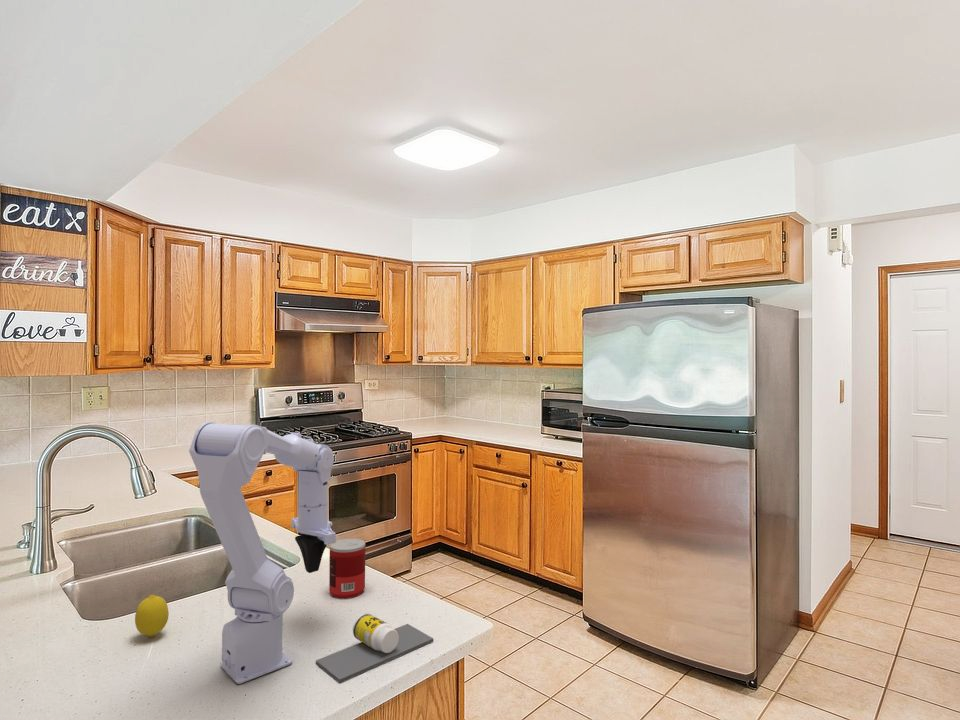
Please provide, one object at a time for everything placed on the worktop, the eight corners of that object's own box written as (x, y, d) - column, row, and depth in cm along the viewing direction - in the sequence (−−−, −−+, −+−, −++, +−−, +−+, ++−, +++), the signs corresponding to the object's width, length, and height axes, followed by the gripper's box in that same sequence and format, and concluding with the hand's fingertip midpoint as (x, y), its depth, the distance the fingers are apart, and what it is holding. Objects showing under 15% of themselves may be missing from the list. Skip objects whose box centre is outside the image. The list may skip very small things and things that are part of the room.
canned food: (372, 589, 132) (372, 542, 132) (346, 602, 126) (347, 552, 126) (347, 582, 137) (348, 535, 136) (321, 593, 130) (322, 545, 130)
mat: (339, 683, 95) (339, 679, 95) (315, 663, 101) (315, 660, 101) (433, 641, 109) (433, 638, 109) (407, 626, 115) (407, 623, 115)
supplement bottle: (373, 609, 111) (401, 624, 105) (372, 634, 111) (400, 650, 105) (352, 616, 107) (380, 632, 102) (351, 642, 107) (379, 659, 102)
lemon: (127, 641, 108) (128, 598, 108) (153, 627, 113) (154, 587, 113) (149, 646, 106) (150, 603, 106) (175, 633, 111) (175, 591, 111)
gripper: (349, 507, 114) (349, 576, 114) (313, 493, 124) (312, 556, 124) (316, 514, 109) (316, 585, 109) (281, 499, 119) (281, 564, 119)
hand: (312, 570), depth 116 cm, fingers closed
